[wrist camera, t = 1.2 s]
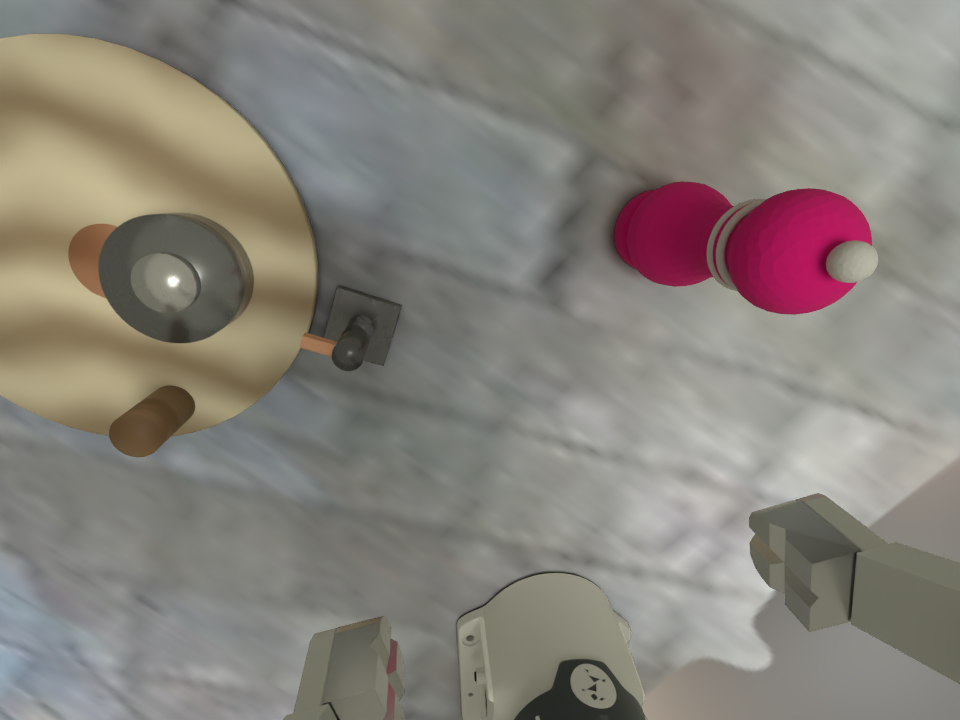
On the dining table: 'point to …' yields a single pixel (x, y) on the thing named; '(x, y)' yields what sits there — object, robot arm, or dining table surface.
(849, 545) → the robot arm
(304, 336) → the pointer
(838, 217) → the pepper mill
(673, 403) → the dining table surface
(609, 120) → the dining table surface
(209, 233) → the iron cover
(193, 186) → the turntable
